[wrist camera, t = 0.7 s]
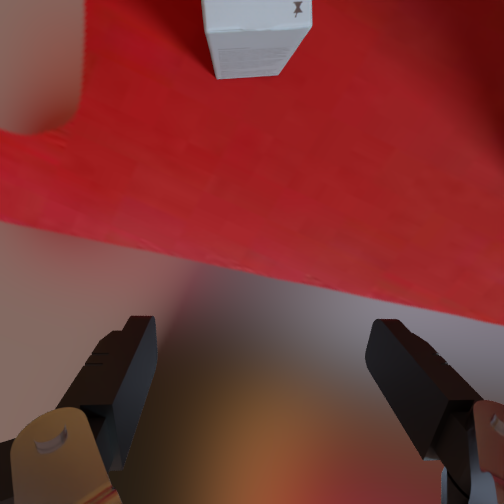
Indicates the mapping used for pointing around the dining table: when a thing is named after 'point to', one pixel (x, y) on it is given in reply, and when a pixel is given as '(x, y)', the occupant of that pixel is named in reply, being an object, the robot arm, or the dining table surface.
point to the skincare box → (254, 34)
